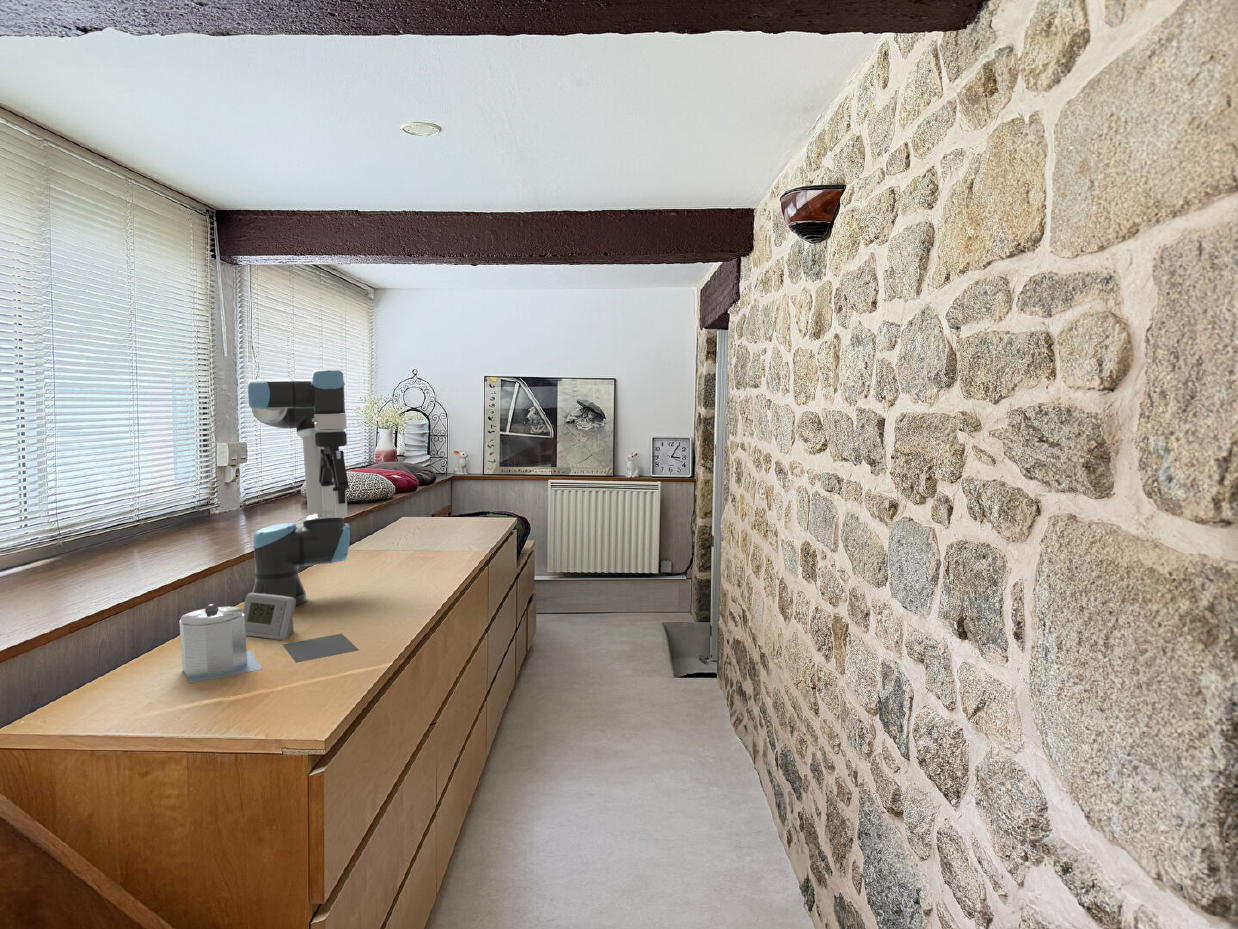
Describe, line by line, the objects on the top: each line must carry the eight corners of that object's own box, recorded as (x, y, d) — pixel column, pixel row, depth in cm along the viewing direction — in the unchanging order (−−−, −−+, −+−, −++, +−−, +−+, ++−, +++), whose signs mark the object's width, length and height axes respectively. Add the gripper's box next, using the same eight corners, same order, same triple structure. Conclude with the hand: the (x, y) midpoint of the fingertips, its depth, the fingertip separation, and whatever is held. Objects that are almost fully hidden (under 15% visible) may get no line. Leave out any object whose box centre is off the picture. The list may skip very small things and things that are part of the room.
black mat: (282, 646, 182) (282, 644, 182) (341, 635, 190) (341, 633, 190) (296, 665, 169) (295, 662, 169) (359, 652, 177) (359, 650, 177)
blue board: (183, 665, 171) (183, 662, 171) (250, 652, 179) (250, 650, 178) (189, 686, 158) (189, 683, 157) (262, 671, 165) (262, 669, 165)
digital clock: (235, 636, 192) (232, 595, 191) (268, 627, 199) (266, 588, 199) (271, 646, 183) (268, 604, 182) (304, 637, 190) (302, 595, 190)
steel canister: (180, 666, 168) (175, 603, 167) (238, 654, 176) (234, 594, 174) (189, 681, 159) (185, 615, 158) (251, 667, 166) (247, 604, 165)
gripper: (304, 430, 199) (308, 509, 201) (327, 432, 178) (331, 520, 180) (333, 429, 203) (337, 507, 205) (359, 431, 183) (363, 517, 184)
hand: (334, 513), depth 192 cm, fingers open, 13 cm apart
